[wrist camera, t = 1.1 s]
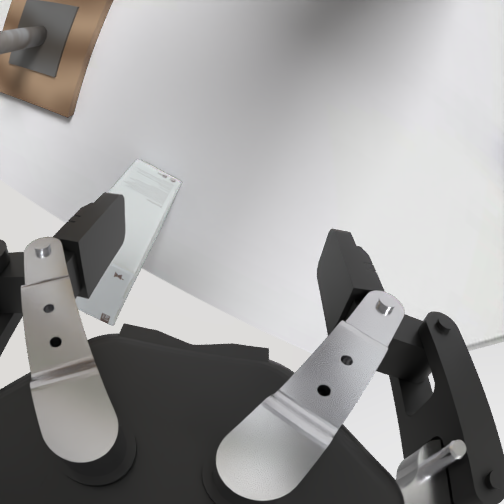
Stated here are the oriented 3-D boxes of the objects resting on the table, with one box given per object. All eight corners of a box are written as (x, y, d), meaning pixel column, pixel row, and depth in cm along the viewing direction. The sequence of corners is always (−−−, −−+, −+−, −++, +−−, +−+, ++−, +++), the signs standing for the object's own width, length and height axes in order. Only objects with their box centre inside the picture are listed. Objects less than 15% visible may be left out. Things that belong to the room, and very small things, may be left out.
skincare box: (138, 156, 31) (64, 234, 20) (186, 181, 33) (136, 273, 21) (116, 213, 36) (55, 300, 24) (158, 236, 38) (112, 331, 26)
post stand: (31, -33, 16) (-16, -35, 10) (123, -22, 19) (80, -34, 13) (-4, 86, 25) (-48, 105, 19) (73, 114, 28) (29, 138, 22)
